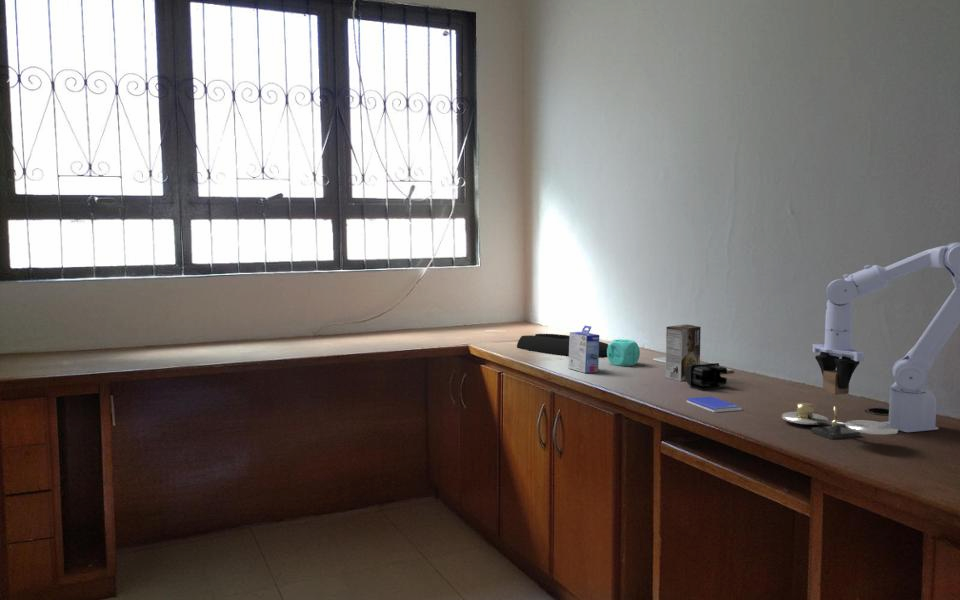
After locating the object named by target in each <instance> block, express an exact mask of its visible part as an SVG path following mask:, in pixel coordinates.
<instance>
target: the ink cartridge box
mask: <svg viewBox="0 0 960 600" xmlns="http://www.w3.org/2000/svg"><path fill="white" fill-rule="evenodd" d="M587 329H588V330H587ZM591 329H592V326H590V325H584V326H583V328H582V330H581V331H573V332H572V331H570V332H569V336H570V339H569V356H568V369H570V370H574V371H577V372H580V373H582V374H583V373H584V374H590V373H599V363H600V362H599V359H600V357H599V341H600V334H596V333H591Z"/></svg>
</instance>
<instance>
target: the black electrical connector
mask: <svg viewBox="0 0 960 600" xmlns="http://www.w3.org/2000/svg"><path fill="white" fill-rule="evenodd" d="M721 374H725V375H727V374H728V368H727V367H723V366H720V363H719V362H716V363H715V362H713V363H702V364H701V363H700V364H699V365H689V366H688V367H687V368H686V370H685V379H686V380H685V382H686V383H687V384H688V385H689V387H690V388H692V389H693V390H697V391H701V392H703V391H713V390H725V389H726V388H727V387H726V385H727V383H728V381H727V380H728V378H727V377H723V376H722V375H721Z"/></svg>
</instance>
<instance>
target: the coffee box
mask: <svg viewBox="0 0 960 600" xmlns="http://www.w3.org/2000/svg"><path fill="white" fill-rule="evenodd" d="M701 329H702V328H701V326H698V325H697V326H696V325H692V324H678V325H677V324H676V325H670V326H666V333H665V334H666V337H665V338H666V343H665V346H666V348H665V376H664V377H665V379H669V380H674V381H678V382H683V381H686V379H685V370H686V368H687V367H688V366H689V365H699V364H701V332H702V331H701Z"/></svg>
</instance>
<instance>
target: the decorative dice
mask: <svg viewBox="0 0 960 600" xmlns="http://www.w3.org/2000/svg"><path fill="white" fill-rule="evenodd" d="M608 345H609V346H608V348H607V360H608V361H609V363H610V364H611V365H613V366H617V367H633V366H635V365H636V364H637V363H638V361H639V360H640V355H641V350H640V346H639V344H638V343H637V342H636V341H635V340H632V339H622V338H620V339H612V340H611V342H610V343H609V344H608Z"/></svg>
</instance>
